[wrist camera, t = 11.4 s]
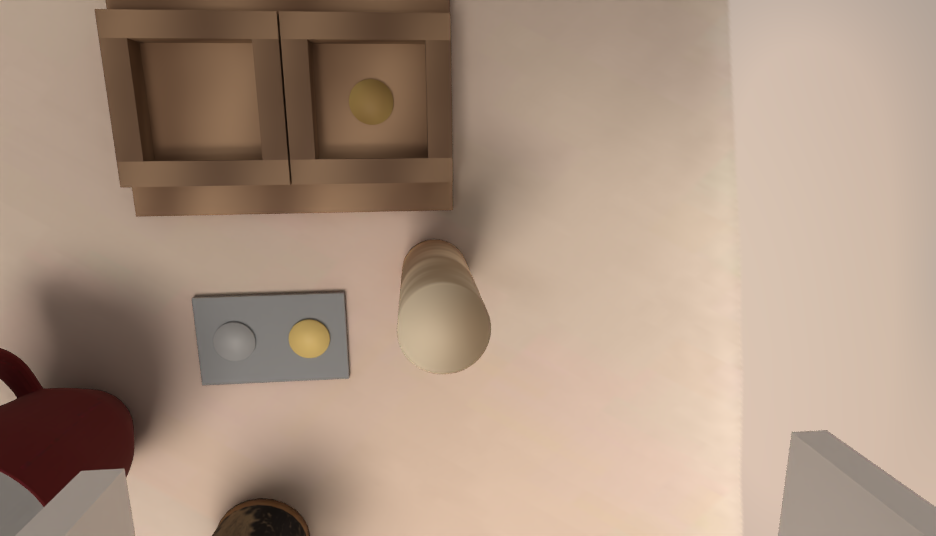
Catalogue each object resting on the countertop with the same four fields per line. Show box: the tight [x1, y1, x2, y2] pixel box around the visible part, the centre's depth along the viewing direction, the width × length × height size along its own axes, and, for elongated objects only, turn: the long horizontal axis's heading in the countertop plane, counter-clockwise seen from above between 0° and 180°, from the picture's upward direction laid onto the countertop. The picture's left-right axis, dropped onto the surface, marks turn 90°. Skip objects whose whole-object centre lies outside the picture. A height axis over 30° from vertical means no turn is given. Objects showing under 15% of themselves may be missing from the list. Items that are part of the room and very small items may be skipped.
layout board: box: [95, 0, 453, 216], centre depth 28 cm, size 16×11×2 cm
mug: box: [0, 348, 134, 536], centre depth 26 cm, size 11×8×10 cm
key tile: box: [192, 292, 349, 385], centre depth 31 cm, size 8×5×1 cm, turn 90°
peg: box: [397, 240, 491, 374], centre depth 26 cm, size 4×4×10 cm
